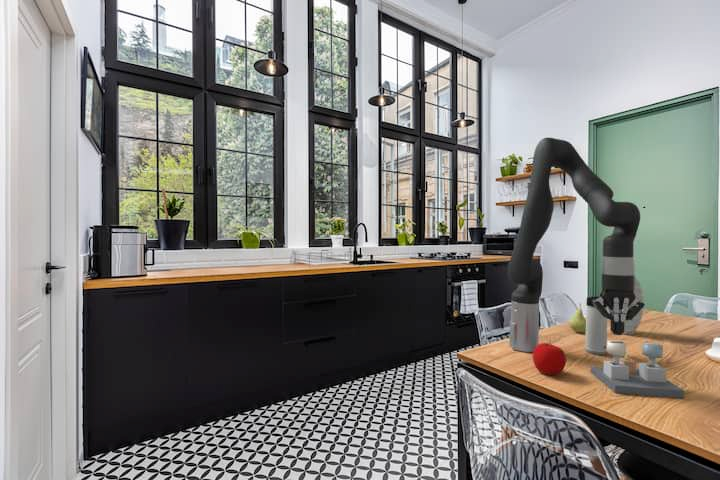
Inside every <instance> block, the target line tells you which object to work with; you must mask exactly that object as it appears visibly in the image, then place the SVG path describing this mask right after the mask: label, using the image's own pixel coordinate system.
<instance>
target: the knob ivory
mask: <svg viewBox="0 0 720 480" xmlns="http://www.w3.org/2000/svg"><path fill="white" fill-rule="evenodd" d="M606 350H607V354H609V355H612V356H613V357H612V358H613V359H612V361H613V365H619V358H620V357H625V356H626V355H627V343H626V342H623V341H619V340H609V339H608V340H607V349H606Z"/></svg>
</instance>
